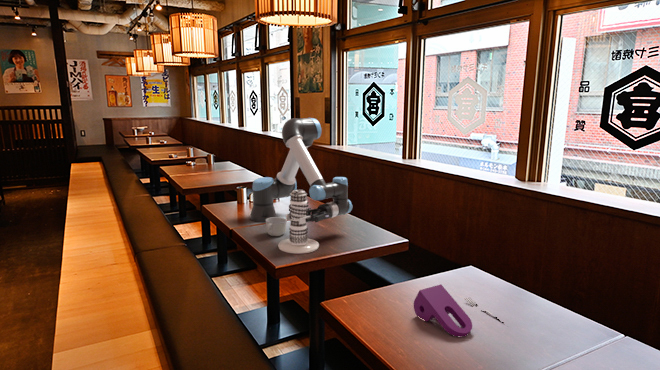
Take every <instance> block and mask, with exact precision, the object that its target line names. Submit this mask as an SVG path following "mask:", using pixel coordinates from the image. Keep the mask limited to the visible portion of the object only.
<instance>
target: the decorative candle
mask: <svg viewBox="0 0 660 370" xmlns="http://www.w3.org/2000/svg"><path fill="white" fill-rule="evenodd" d="M290 195H291V196H290V202H289V204H288V211H289V213H288V214H289V215H290V216H289V218H290V220H289V221H290V224H289V225H290V226H289V236H288V237H289V238H288V239H289V240H290V244H292V245H305V244H307V240H308V239H309V238H308V237H309V236H308V229H309V228H308V222H307V223H304V224H299V218H302V217H306V215H307V214H308V212H307V211H308V208H309V201H308V196H307V195H308V193H307V192H306V191H305V190H304V189H296V190H293V191H292V192H291V193H290Z"/></svg>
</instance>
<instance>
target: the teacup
mask: <svg viewBox="0 0 660 370" xmlns="http://www.w3.org/2000/svg"><path fill="white" fill-rule="evenodd" d="M287 221H288V220H286V218H283V217H278V216H277V217H270V218H267V219H266V222H265V232H266V233H267V234H268V235H270V236H272V237H281V236H282V235H284V234H285V233H286V230H287Z"/></svg>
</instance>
